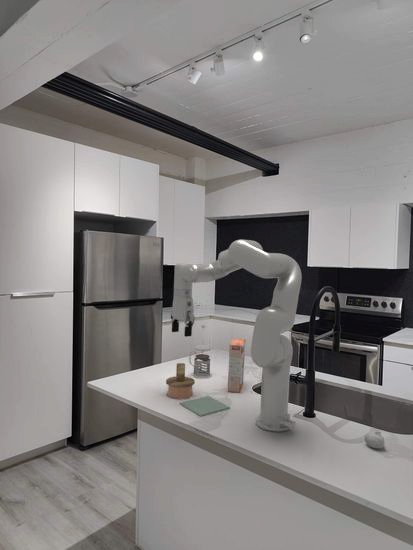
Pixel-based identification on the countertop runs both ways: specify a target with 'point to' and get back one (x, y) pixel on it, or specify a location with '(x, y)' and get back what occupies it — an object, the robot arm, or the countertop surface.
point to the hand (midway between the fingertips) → (181, 334)
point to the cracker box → (236, 365)
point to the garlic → (374, 440)
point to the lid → (180, 378)
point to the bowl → (179, 392)
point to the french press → (201, 362)
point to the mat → (204, 406)
